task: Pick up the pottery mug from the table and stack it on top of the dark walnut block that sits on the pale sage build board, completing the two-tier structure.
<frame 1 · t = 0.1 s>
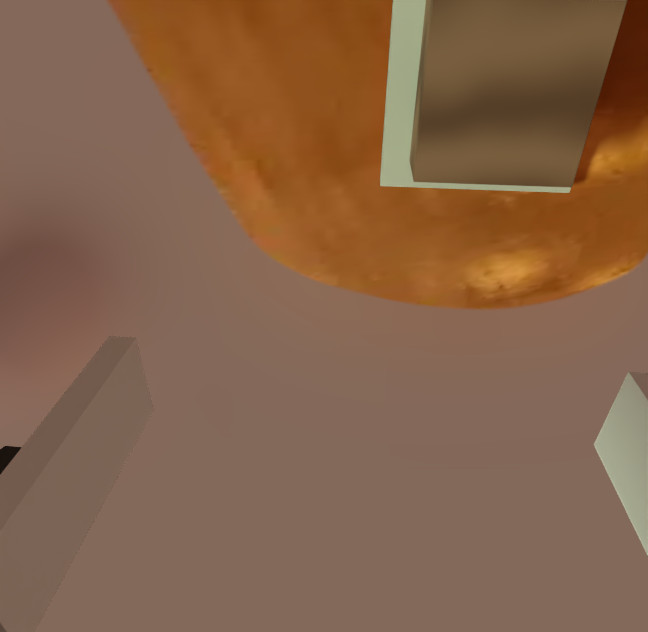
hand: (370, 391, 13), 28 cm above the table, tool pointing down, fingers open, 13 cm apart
build board: (487, 84, 34), on the table
walnut block: (491, 87, 33), point 1 cm above the table, touching build board
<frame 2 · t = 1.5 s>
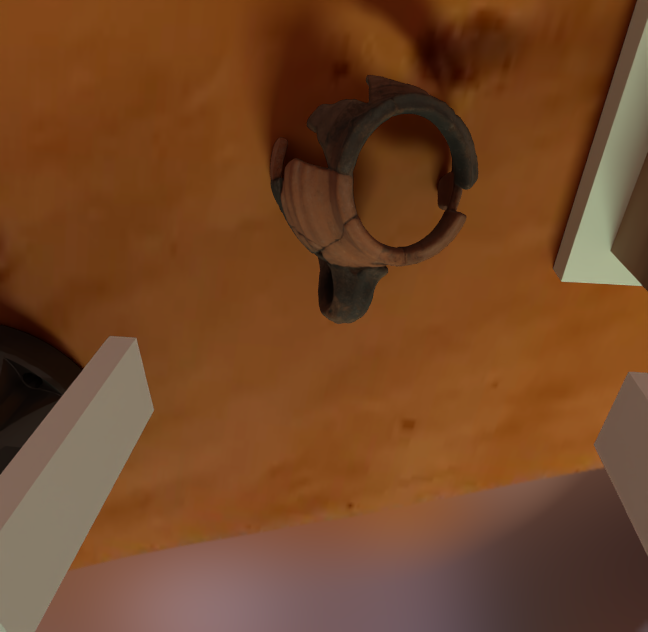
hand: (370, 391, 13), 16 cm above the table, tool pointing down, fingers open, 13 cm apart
pottery mug: (359, 186, 27), on the table
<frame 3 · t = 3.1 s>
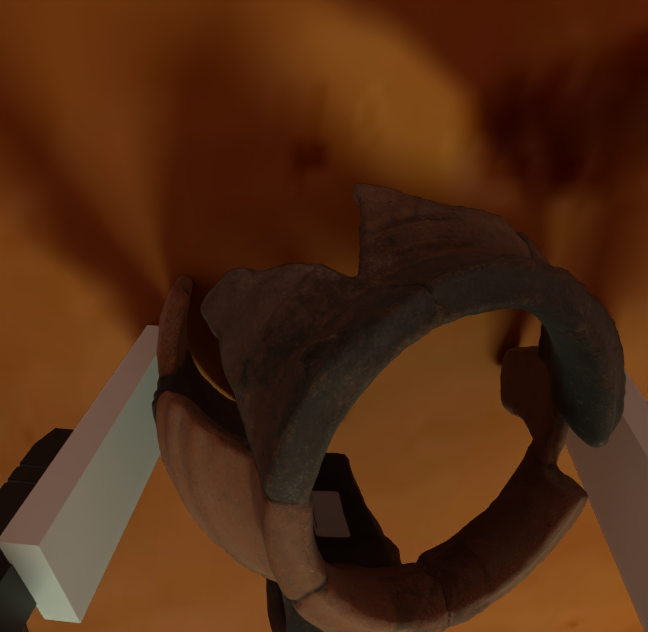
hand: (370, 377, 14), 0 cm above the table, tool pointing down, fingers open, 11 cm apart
pottery mug: (346, 353, 14), on the table
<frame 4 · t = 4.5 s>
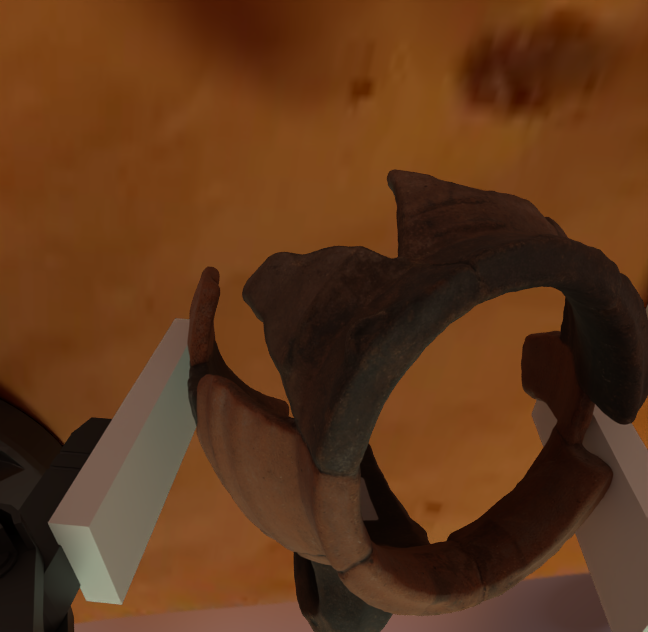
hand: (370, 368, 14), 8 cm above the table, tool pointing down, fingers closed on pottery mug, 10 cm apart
pottery mug: (369, 341, 14), point 8 cm above the table, touching gripper
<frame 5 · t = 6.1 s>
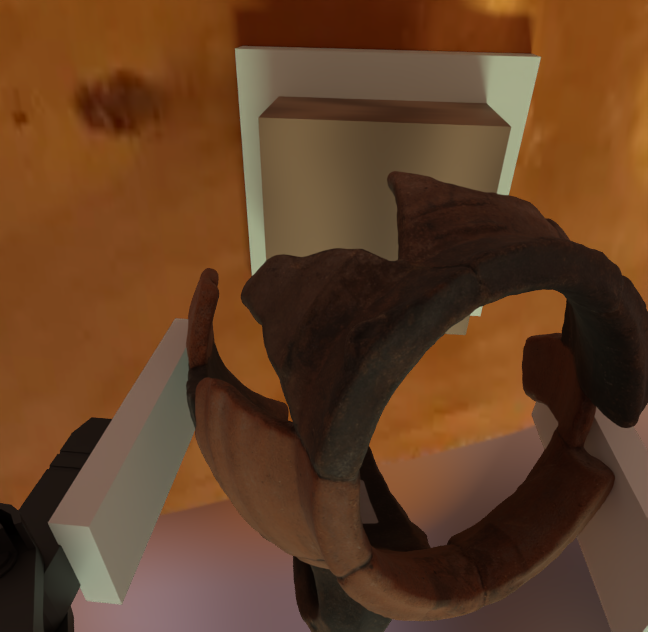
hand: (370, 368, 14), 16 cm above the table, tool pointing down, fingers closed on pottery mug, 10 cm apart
build board: (373, 190, 27), on the table
pottery mug: (368, 343, 14), point 15 cm above the table, touching gripper
walnut block: (373, 199, 26), point 1 cm above the table, touching build board
when the fingers open (8 cm above the table, at t = 8.0 s): pottery mug stays where it is, resting on walnut block.
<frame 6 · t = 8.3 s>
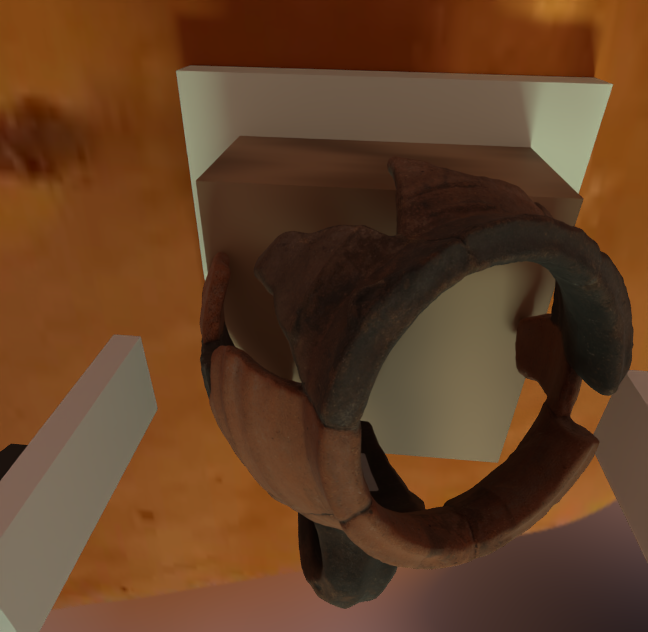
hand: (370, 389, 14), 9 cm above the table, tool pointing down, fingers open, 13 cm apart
build board: (372, 253, 21), on the table
pottery mug: (370, 325, 15), point 6 cm above the table, touching walnut block
walnut block: (372, 269, 19), point 1 cm above the table, touching build board, pottery mug
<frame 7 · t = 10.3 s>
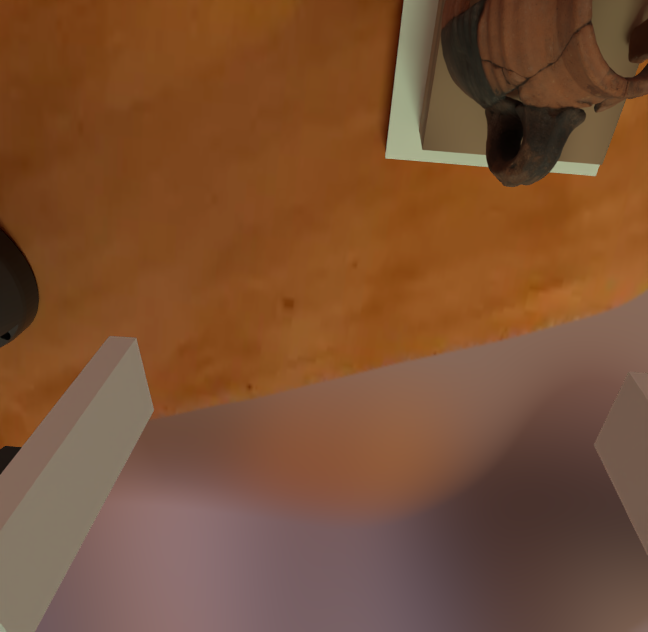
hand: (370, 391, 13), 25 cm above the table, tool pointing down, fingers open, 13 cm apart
build board: (511, 47, 30), on the table
pottery mug: (535, 42, 25), point 6 cm above the table, touching walnut block
walnut block: (516, 49, 29), point 1 cm above the table, touching build board, pottery mug
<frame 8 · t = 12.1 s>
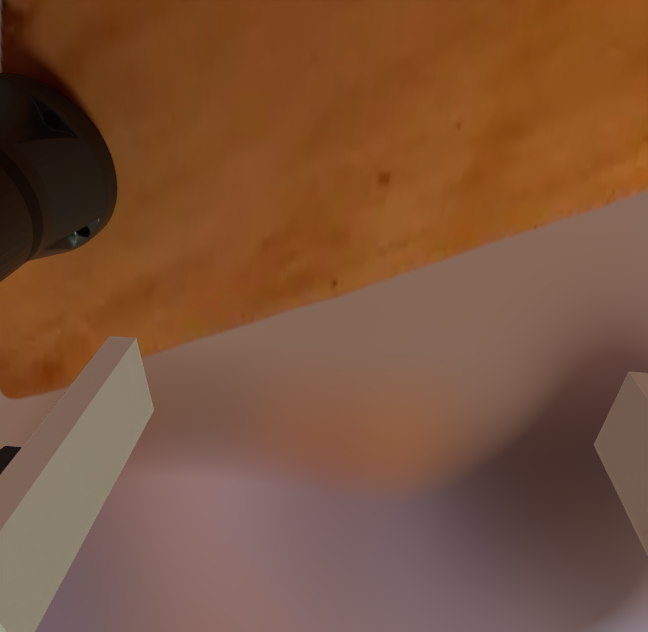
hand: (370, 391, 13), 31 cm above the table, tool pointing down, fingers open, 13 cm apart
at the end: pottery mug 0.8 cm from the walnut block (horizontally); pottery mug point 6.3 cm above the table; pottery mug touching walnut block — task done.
